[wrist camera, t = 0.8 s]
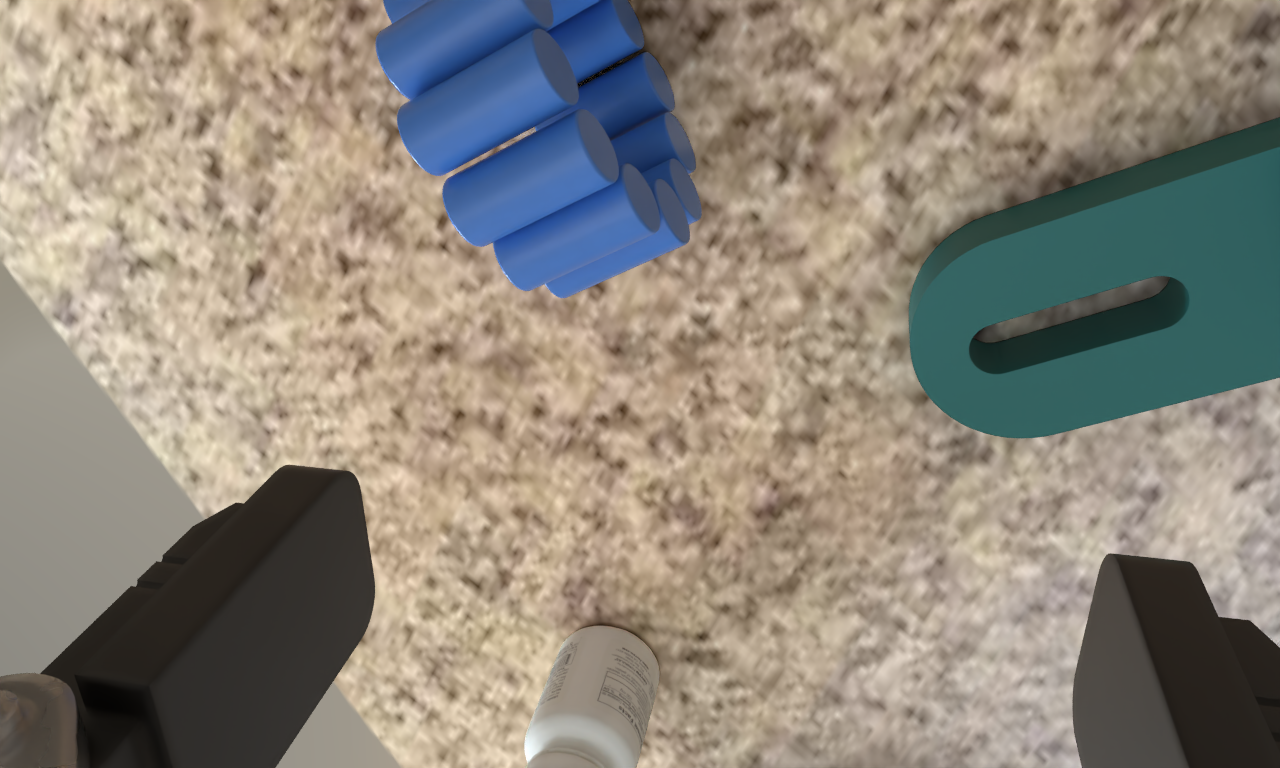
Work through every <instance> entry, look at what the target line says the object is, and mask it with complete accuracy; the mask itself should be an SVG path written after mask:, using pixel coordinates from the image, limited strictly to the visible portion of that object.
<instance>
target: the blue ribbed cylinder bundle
mask: <svg viewBox="0 0 1280 768" xmlns="http://www.w3.org/2000/svg"><path fill="white" fill-rule="evenodd" d="M383 2H384V6H385V9H386V12H387V14H388V16H389V18H390V20H391V22H392V24H391V25H390V26H388V27H386V28H385V29H383V30H382V31H380V32H379V34H378V35H377V37H376V52H377V56H378V59H379V61H380V64H381V66H382V68H383V70H384V72H385V74H386V75H387V77H388V78H389V80H390V81H391V83H392V84H393V85H394V86H395V88H396V89H397V90H398V91H399V92H400V93H401V94H403V95H404V96H405V97H407V98H408V99H410V101H409V102H407V103H405V104H404V105H402V106H401V107H400V109H399V111H398V114H397V124H398V129H399V132H400V135H401V138H402V140H403V143H404V145H405V147H406V148H407V150H408V152H409V153H410V155H411V156H412V158H413V159H414V160H415V161H416V162H417V164H418V165H419V166H420V167H421V168H423V169H424V170H425V171H426V172H428V173H430V174H432V175H435V176H442V175H444V174H446V173H448V172H450V171H452V170H454V169H456V168H458V167H459V166H461V165H463V164H465V163H467V162H469V161H471V160H473V159H475V158H476V157H478V156H480V155H482V154H484V153H486V152H488V151H490V150H491V149H493V148H495V147H497V146H499V145H501V144H503V143H505V142H507V141H508V140H510V139H512V138H514V137H516V136H518V135H520V134H522V133H523V132H525V131H527V130H529V129H531V128H533V127H535V128H536V132H534V133H532V134H530V135H528V136H527V137H525V138H523V139H521V140H519V141H517V142H515V143H513V144H511V145H510V146H508V147H506V148H504V149H502V150H500V151H498V152H496V153H494V154H493V155H491V156H489V157H487V158H485V159H483V160H481V161H479V162H477V163H476V164H474V165H472V166H470V167H468V168H466V169H464V170H462V171H460V172H459V173H457V174H455V175H453V176H451V177H449V178H448V179H447V180H446V181H445V183H444V185H443V193H442V194H443V201H444V205H445V208H446V211H447V214H448V216H449V218H450V220H451V222H452V224H453V225H454V227H455V228H456V230H457V231H458V232H459V234H460V235H461V236H462V237H463V238H464V239H465V240H466V241H468V242H469V243H470V244H472V245H474V246H479V247H482V246H486V245H488V244H490V243H492V242H493V247H494V251H495V255H496V258H497V260H498V263H499V265H500V267H501V269H502V270H503V272H504V274H505V275H506V276H507V278H508V279H509V280H510V281H511V282H512V283H513V284H514V285H515V286H516V287H517V288H519V289H521V290H524V291H530V290H533V289H535V288H537V287H539V286H541V285H543V284H545V285H546V286H547V288H548V289H549V290H550V291H551V292H552V293H553V294H554V295H556V296H557V297H560V298H567V297H569V296H571V295H574V294H576V293H578V292H580V291H582V290H585V289H587V288H589V287H591V286H594V285H596V284H598V283H600V282H603V281H605V280H607V279H609V278H612V277H614V276H616V275H618V274H621V273H623V272H625V271H627V270H629V269H632V268H634V267H636V266H638V265H641V264H643V263H645V262H647V261H650V260H652V259H654V258H656V257H659V256H661V255H663V254H665V253H668V252H670V251H672V250H674V249H677V248H679V247H681V246H683V245H685V244H687V243H688V242H689V239H690V231H689V224H691V223H693V222H696V221H698V220H699V219H700V218H701V215H702V211H701V204H700V200H699V196H698V193H697V191H696V188H695V186H694V184H693V182H692V179H691V178H690V176H689V173H691V172H693V171H694V170H695V168H696V162H695V156H694V152H693V149H692V146H691V144H690V141H689V139H688V137H687V135H686V133H685V131H684V129H683V127H682V126H681V124H680V123H679V121H678V120H677V119H676V118H675V117H674V116H673V115H672V114H671V113H669V112H671V111H673V109H674V107H675V102H674V96H673V92H672V89H671V86H670V83H669V81H668V79H667V77H666V75H665V73H664V71H663V69H662V67H661V66H660V64H659V63H658V62H657V60H656V59H655V58H654V57H653V56H652V55H651V54H650V53H648V52H644V53H642V54H640V55H638V56H636V57H634V58H632V59H630V60H629V61H627V62H625V63H623V64H621V65H619V66H617V67H616V68H614V69H612V70H610V71H608V72H606V73H604V74H603V75H601V76H599V77H597V78H595V79H593V80H591V81H590V82H588V83H586V84H584V85H582V86H580V87H578V85H577V83H579V82H581V81H583V80H585V79H587V78H589V77H590V76H592V75H594V74H596V73H598V72H600V71H601V70H603V69H605V68H607V67H609V66H611V65H613V64H614V63H616V62H618V61H620V60H622V59H624V58H626V57H627V56H629V55H631V54H633V53H635V52H637V51H639V50H640V49H642V48H643V47H644V37H643V32H642V29H641V26H640V23H639V21H638V19H637V16H636V14H635V12H634V10H633V9H632V7H631V5H630V4H629V2H628V0H383Z"/></svg>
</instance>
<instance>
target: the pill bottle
mask: <svg viewBox="0 0 1280 768" xmlns="http://www.w3.org/2000/svg"><path fill="white" fill-rule="evenodd" d="M659 678H660V671H659V666H658V662H657V660H656V658H655V656H654V654H653V653H652V651H651V649H650V648H649V647H648V646H647V645H646V644H645V643H644V642H643V641H642V640H640V639H639V638H638V637H636V636H635V635H634V634H632V633H630V632H628V631H626V630H623V629H620V628H615V627H610V626H591V627H586V628H582V629H580V630H578V631H576V632H574V633H573V634H571V635H570V636H569V637H568V638H567V639H566V640H565V641H564V643H563V644H562V646H561V648H560V651H559V653H558V656H557V658H556V660H555V663H554V665H553V668H552V670H551V673H550V675H549V678H548V680H547V683H546V685H545V688H544V690H543V692H542V695H541V698H540V700H539V703H538V705H537V708H536V710H535V712H534V715H533V717H532V720H531V722H530V725H529V728H528V730H527V733H526V737H525V745H524V749H525V755H526V759H527V762H528V764H527V765H526V767H525V768H636V767H637V763H638V760H639V756H640V752H641V748H642V745H643V741H644V737H645V734H646V730H647V726H648V722H649V718H650V715H651V711H652V707H653V704H654V700H655V696H656V692H657V688H658V684H659Z"/></svg>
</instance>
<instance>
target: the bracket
mask: <svg viewBox="0 0 1280 768" xmlns="http://www.w3.org/2000/svg"><path fill="white" fill-rule="evenodd" d="M1156 276H1168V277H1170V280H1169V282H1168V284H1167V286H1166V287H1165V288H1164V289H1163V290H1162V291H1161V292H1160V293H1159V294H1157V295H1156V296H1154V297H1152V298H1149V299H1146V300H1143V301H1139V302H1136V303H1132V304H1129V305H1125V306H1122V307H1119V308H1115V309H1112V310H1108V311H1105V312H1101V313H1098V314H1094V315H1091V316H1088V317H1084V318H1081V319H1077V320H1074V321H1070V322H1067V323H1063V324H1060V325H1056V326H1053V327H1050V328H1046V329H1043V330H1039V331H1036V332H1032V333H1029V334H1025V335H1022V336H1019V337H1015V338H1012V339H1008V340H1005V341H1001V342H998V343H983V342H980V341H977V340H976V339H974V338H973V337H974V335H975V334H976V333H977V332H978V331H979V330H981V329H982V328H984V327H986V326H989V325H992V324H996V323H999V322H1002V321H1006V320H1009V319H1013V318H1016V317H1019V316H1023V315H1026V314H1029V313H1033V312H1036V311H1040V310H1043V309H1046V308H1050V307H1053V306H1056V305H1060V304H1063V303H1067V302H1070V301H1073V300H1077V299H1080V298H1083V297H1087V296H1090V295H1093V294H1097V293H1100V292H1104V291H1107V290H1110V289H1114V288H1117V287H1120V286H1124V285H1127V284H1131V283H1134V282H1137V281H1141V280H1144V279H1147V278H1151V277H1156ZM909 334H910V351H911V359H912V363H913V367H914V370H915V373H916V375H917V378H918V380H919V382H920V384H921V386H922V387H923V389H924V390H925V392H926V393H927V395H928V396H929V397H930V399H931V400H932V401H933V402H934V403H935V404H936V405H937V406H938V407H939V408H940V409H941V410H942V411H943V412H945V413H946V414H947V415H949V416H950V417H951V418H953V419H954V420H956V421H958V422H959V423H961V424H963V425H965V426H967V427H969V428H972V429H974V430H977V431H980V432H983V433H986V434H990V435H994V436H1000V437H1007V438H1036V437H1044V436H1049V435H1054V434H1058V433H1062V432H1066V431H1070V430H1074V429H1078V428H1082V427H1086V426H1090V425H1094V424H1098V423H1102V422H1106V421H1110V420H1114V419H1118V418H1122V417H1125V416H1129V415H1133V414H1137V413H1141V412H1145V411H1149V410H1153V409H1157V408H1161V407H1165V406H1169V405H1173V404H1177V403H1181V402H1185V401H1189V400H1193V399H1197V398H1201V397H1205V396H1208V395H1212V394H1216V393H1220V392H1224V391H1228V390H1232V389H1236V388H1240V387H1244V386H1248V385H1252V384H1256V383H1260V382H1264V381H1268V380H1272V379H1276V378H1280V117H1279V118H1276V119H1273V120H1270V121H1268V122H1265V123H1262V124H1259V125H1256V126H1253V127H1250V128H1247V129H1244V130H1241V131H1238V132H1235V133H1232V134H1229V135H1226V136H1223V137H1220V138H1217V139H1214V140H1211V141H1208V142H1205V143H1202V144H1199V145H1196V146H1193V147H1190V148H1187V149H1184V150H1181V151H1178V152H1175V153H1172V154H1169V155H1166V156H1163V157H1160V158H1157V159H1154V160H1151V161H1148V162H1145V163H1142V164H1139V165H1136V166H1133V167H1130V168H1127V169H1124V170H1121V171H1118V172H1115V173H1112V174H1109V175H1106V176H1103V177H1100V178H1097V179H1094V180H1091V181H1088V182H1085V183H1082V184H1079V185H1077V186H1074V187H1071V188H1068V189H1065V190H1062V191H1059V192H1056V193H1053V194H1050V195H1047V196H1044V197H1041V198H1038V199H1035V200H1032V201H1029V202H1026V203H1023V204H1020V205H1017V206H1014V207H1011V208H1008V209H1005V210H1002V211H999V212H996V213H993V214H990V215H987V216H984V217H982V218H979V219H977V220H975V221H973V222H971V223H969V224H967V225H965V226H963V227H962V228H960V229H958V230H957V231H955V232H954V233H952V234H951V235H950V236H949V237H947V238H946V239H945V240H944V241H943V242H942V243H941V244H940V245H939V246H938V247H936V249H935V250H934V251H933V252H932V253H931V255H930V256H929V257H928V258H927V260H926V261H925V263H924V264H923V266H922V268H921V270H920V271H919V273H918V275H917V277H916V280H915V283H914V285H913V289H912V292H911V296H910V303H909Z"/></svg>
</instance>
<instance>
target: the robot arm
mask: <svg viewBox="0 0 1280 768" xmlns="http://www.w3.org/2000/svg"><path fill="white" fill-rule="evenodd" d="M137 581H138V583H137V586H136V587H133V586H131V587H130V588H129V589H127V590H126V592H124V593H123V594H122V595H121V596H120V597H119V598H118V599H117V600H116V601H115V602H114V603H113V604H112V605H111V606H110V607H109V608H108V609H107V610H106V611H105V612H104V613H103V614H102V615H101V616H99V618H97V619H96V621H94V622H93V623H92V624H91V625H90V626H89V627H88V628H87V629H86V630H85V631H84V632H83V633H82V634H81V635H80V636H79V637H78V638H77V639H76V640H75V641H74V642H72V644H70V645H69V646H68V647H67V648H66V649H65V650H64V651H63V652H62V653H61V654H60V655H59V656H58V657H57V658H56V659H55V660H54V661H53V662H52V663H51V664H50V665H49V666H48V667H47V668H46V669H45V670H43V671H42V672H41V673H40V674H36V673H23V674H22V673H21V674H13V675H6V676H1V677H0V768H275V767H276V766H277V764H278V763H279V761H280V760H281V759H282V757H283V755H284V754H285V753H286V751H287V749H288V748H289V746H290V745H291V744H292V742H293V740H294V739H295V738H296V736H297V734H298V733H299V731H300V730H301V729H302V727H303V725H304V724H305V723H306V721H307V720H308V718H309V716H310V715H311V714H312V712H313V711H314V709H315V708H316V706H317V705H318V703H319V701H320V700H321V699H322V697H323V696H324V694H325V693H326V691H327V690H328V688H329V687H330V685H331V684H332V682H333V681H334V679H335V678H336V676H337V675H338V673H339V672H340V670H341V669H342V667H343V666H344V664H345V663H346V661H347V660H348V658H349V657H350V655H351V654H352V652H353V651H354V649H355V648H356V646H357V645H358V643H359V642H360V640H361V639H362V637H363V635H364V634H365V631H366V629H367V627H368V624H369V622H370V618H371V615H372V611H373V606H374V599H375V581H374V573H373V567H372V560H371V554H370V547H369V541H368V534H367V527H366V521H365V514H364V508H363V501H362V495H361V489H360V485H359V482H358V480H357V478H356V476H355V475H354V474H353V473H351V472H350V471H343V470H333V469H324V468H314V467H305V466H295V465H285V466H283V467H281V468H280V469H278V470H277V471H276V472H275V473H274V474H273V475H272V476H271V477H270V478H269V479H268V480H267V481H266V482H265V483H264V484H263V485H262V486H261V487H260V488H259V489H258V490H257V491H256V492H255V493H254V494H253V495H252V496H251V497H250V498H249V499H248V500H247V501H246V502H245V503H244V504H243V503H235V504H233V505H231V506H229V507H227V508H225V509H224V510H222V511H220V512H218V513H216V514H215V515H213V516H211V517H209V518H207V519H205V520H204V521H202V522H200V523H198V524H196V525H195V526H193V527H192V528H191V529H190V530H189V531H188V532H187V533H186V534H185V535H184V536H182V538H180V539H179V540H178V541H177V542H176V543H175V544H174V545H173V546H172V547H171V548H170V549H169V550H168V551H167V552H166V553H165V554H164V555H163V559H162V562H156V563H155V564H154V565H152V566H151V567H150V568H149V569H148V570H147V571H146V572H145V573H144V574H143V575H142V576H141V577H140V578H139V579H138V580H137ZM1073 725H1074V733H1075V738H1076V743H1077V747H1078V752H1079V756H1080V761H1081V765H1082V768H1280V648H1279V647H1278V646H1277V645H1276V644H1275V643H1274V642H1273V641H1272V640H1271V639H1270V638H1268V637H1267V636H1266V635H1265V634H1264V633H1263V632H1262V631H1261V630H1260V629H1259V628H1258V627H1256V626H1255V625H1254V624H1253V623H1252V622H1251V621H1250V620H1241V619H1232V618H1223V617H1218V615H1217V613H1216V611H1215V608H1214V606H1213V604H1212V602H1211V600H1210V597H1209V595H1208V593H1207V591H1206V589H1205V586H1204V584H1203V582H1202V580H1201V578H1200V575H1199V573H1198V571H1197V569H1196V567H1195V566H1194V565H1193V564H1192V563H1190V562H1187V561H1177V560H1168V559H1158V558H1149V557H1139V556H1130V555H1120V554H1108V555H1106V557H1105V558H1104V560H1103V562H1102V564H1101V567H1100V570H1099V574H1098V578H1097V582H1096V586H1095V591H1094V595H1093V599H1092V603H1091V608H1090V612H1089V616H1088V621H1087V625H1086V629H1085V634H1084V638H1083V642H1082V646H1081V651H1080V655H1079V659H1078V664H1077V668H1076V673H1075V679H1074V687H1073Z"/></svg>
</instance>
